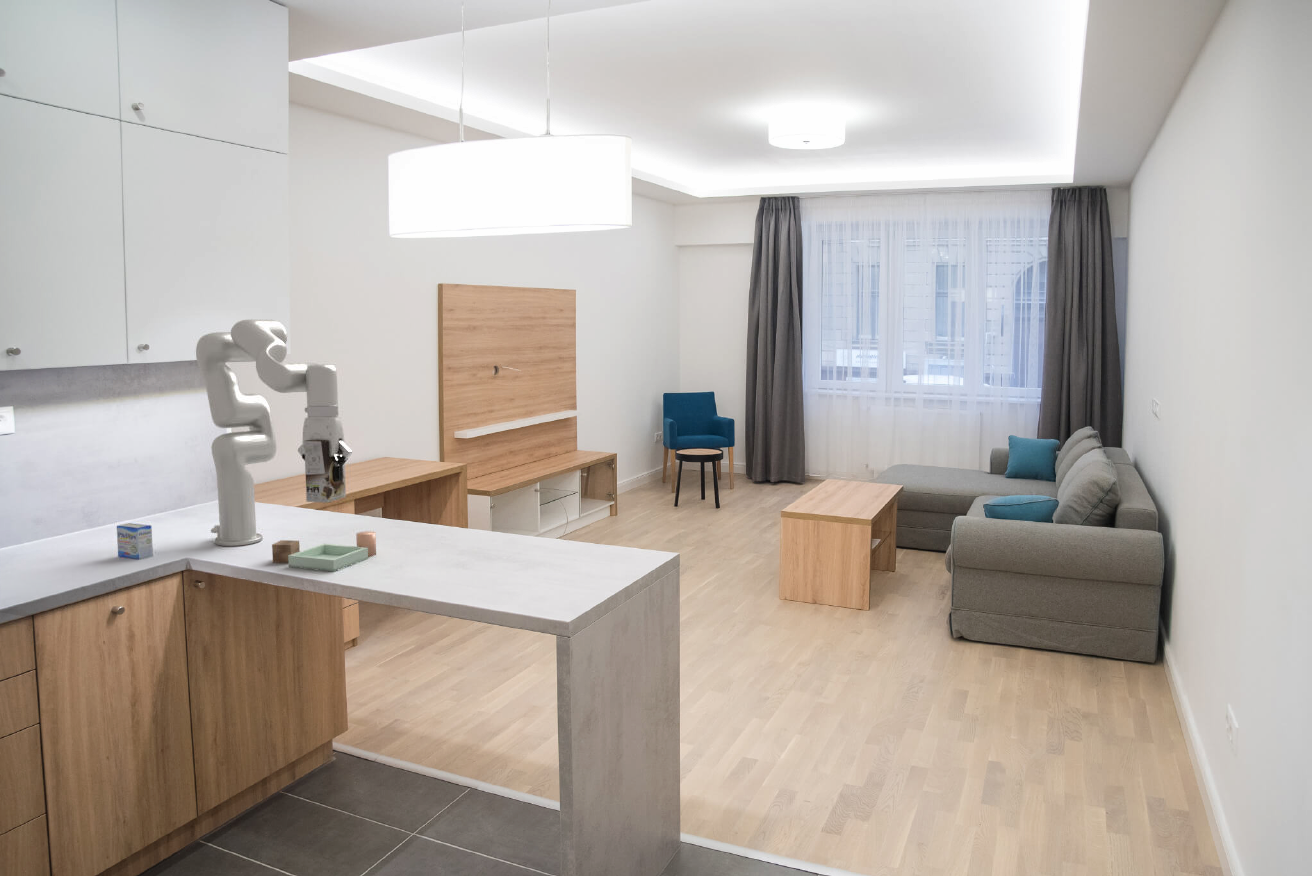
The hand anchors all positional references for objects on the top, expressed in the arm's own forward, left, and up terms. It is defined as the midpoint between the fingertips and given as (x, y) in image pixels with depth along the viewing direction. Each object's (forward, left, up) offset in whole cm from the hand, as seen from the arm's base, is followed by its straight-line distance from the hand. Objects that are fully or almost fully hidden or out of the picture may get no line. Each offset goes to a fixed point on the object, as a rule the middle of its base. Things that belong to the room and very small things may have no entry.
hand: (325, 479), depth 236 cm
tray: (0, 0, -22) cm, 22 cm away
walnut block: (-12, -2, -22) cm, 25 cm away
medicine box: (-53, -12, -22) cm, 58 cm away
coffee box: (0, 0, -5) cm, 5 cm away
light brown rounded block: (+4, +10, -22) cm, 25 cm away
